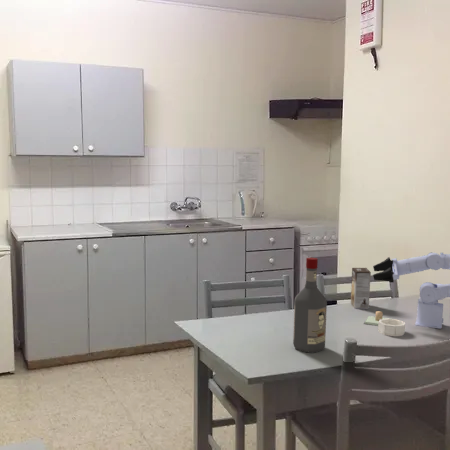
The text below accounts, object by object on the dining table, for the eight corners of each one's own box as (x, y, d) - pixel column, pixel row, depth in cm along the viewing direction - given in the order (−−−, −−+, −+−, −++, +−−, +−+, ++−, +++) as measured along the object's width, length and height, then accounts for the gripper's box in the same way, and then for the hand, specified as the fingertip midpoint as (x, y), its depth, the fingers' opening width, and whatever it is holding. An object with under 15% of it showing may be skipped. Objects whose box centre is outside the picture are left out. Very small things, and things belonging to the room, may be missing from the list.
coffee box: (349, 303, 248) (351, 267, 246) (364, 303, 248) (366, 267, 246) (354, 309, 239) (355, 271, 237) (369, 309, 239) (371, 271, 237)
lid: (392, 320, 221) (392, 310, 221) (389, 326, 213) (389, 316, 212) (368, 317, 225) (369, 308, 224) (364, 323, 216) (365, 313, 216)
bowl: (405, 331, 209) (406, 320, 208) (402, 338, 201) (403, 327, 200) (380, 328, 212) (380, 317, 212) (376, 334, 204) (377, 323, 204)
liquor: (289, 347, 189) (292, 258, 185) (306, 341, 195) (309, 255, 192) (311, 354, 182) (314, 262, 179) (328, 348, 189) (331, 258, 185)
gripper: (405, 248, 223) (371, 256, 227) (407, 265, 210) (371, 272, 214) (410, 264, 225) (375, 271, 229) (412, 281, 212) (375, 288, 216)
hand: (373, 273), depth 222 cm, fingers open, 7 cm apart
